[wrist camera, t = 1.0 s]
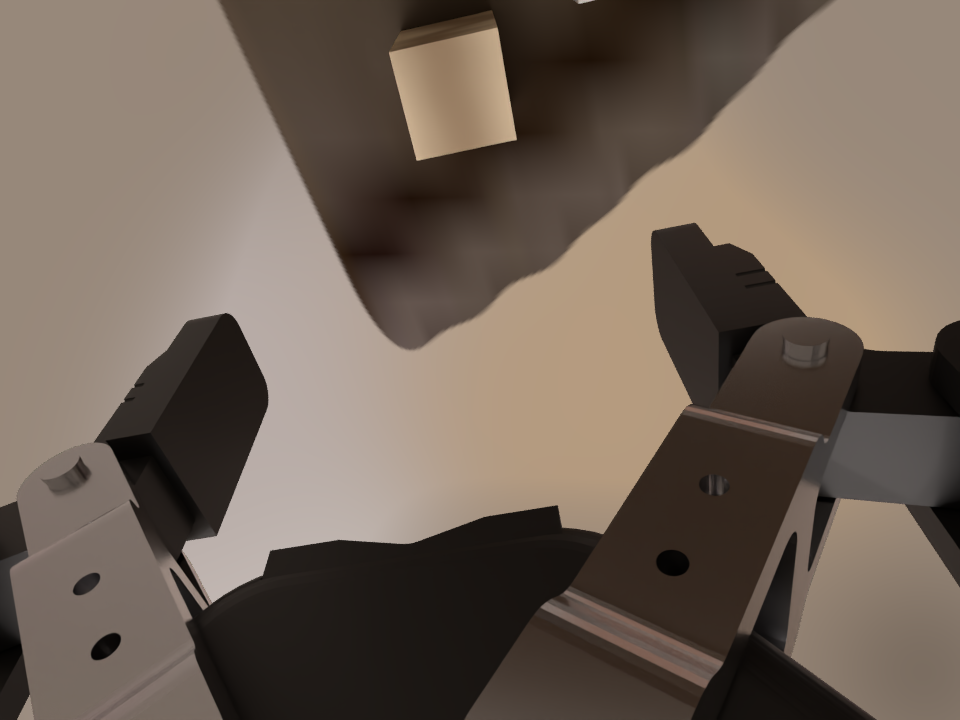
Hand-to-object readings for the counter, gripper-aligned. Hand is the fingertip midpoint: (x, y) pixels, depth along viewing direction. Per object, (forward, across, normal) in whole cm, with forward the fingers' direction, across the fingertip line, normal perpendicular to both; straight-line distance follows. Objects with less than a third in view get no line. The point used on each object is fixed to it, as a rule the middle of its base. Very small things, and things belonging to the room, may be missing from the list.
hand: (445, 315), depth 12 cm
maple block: (+24, 0, 0) cm, 24 cm away
